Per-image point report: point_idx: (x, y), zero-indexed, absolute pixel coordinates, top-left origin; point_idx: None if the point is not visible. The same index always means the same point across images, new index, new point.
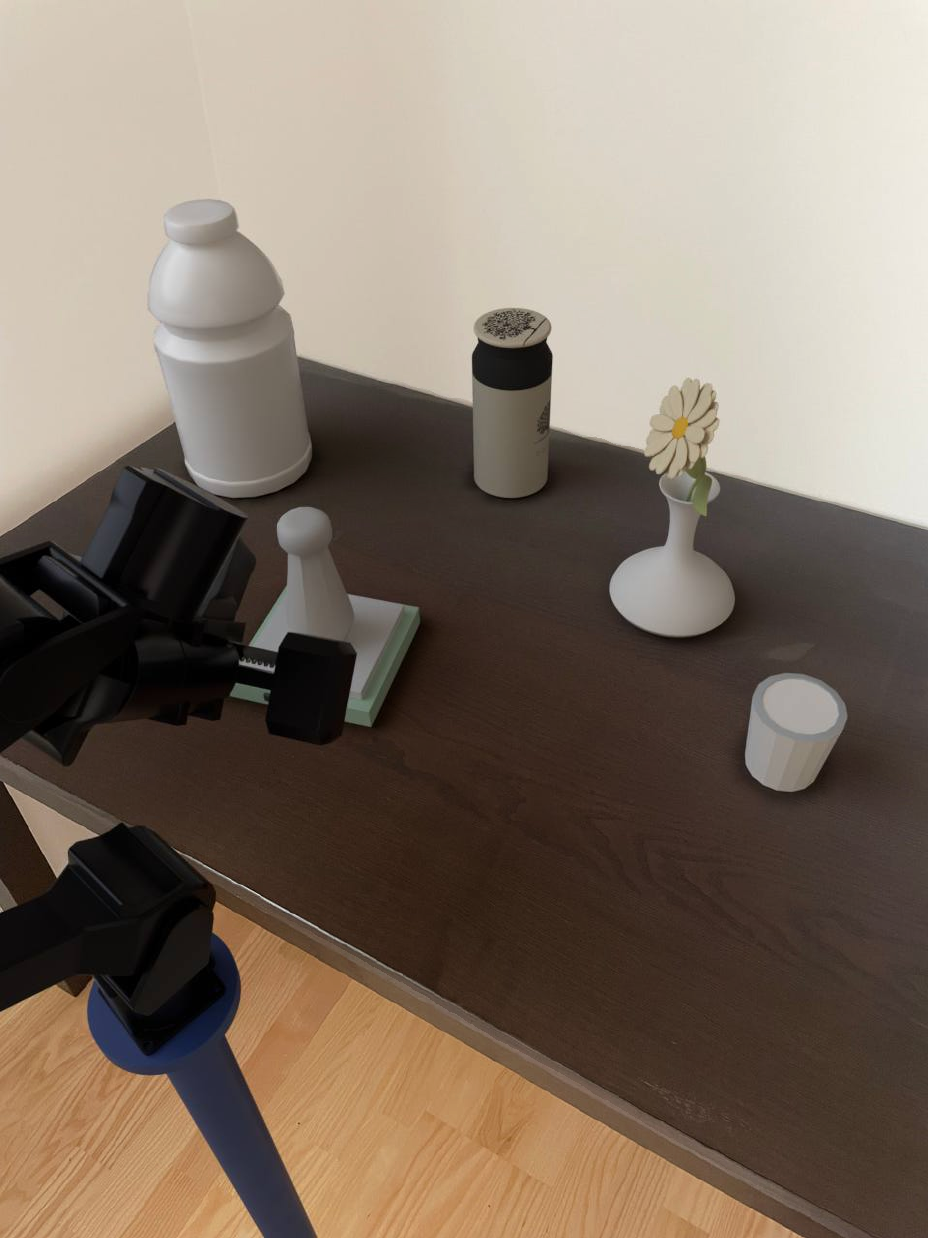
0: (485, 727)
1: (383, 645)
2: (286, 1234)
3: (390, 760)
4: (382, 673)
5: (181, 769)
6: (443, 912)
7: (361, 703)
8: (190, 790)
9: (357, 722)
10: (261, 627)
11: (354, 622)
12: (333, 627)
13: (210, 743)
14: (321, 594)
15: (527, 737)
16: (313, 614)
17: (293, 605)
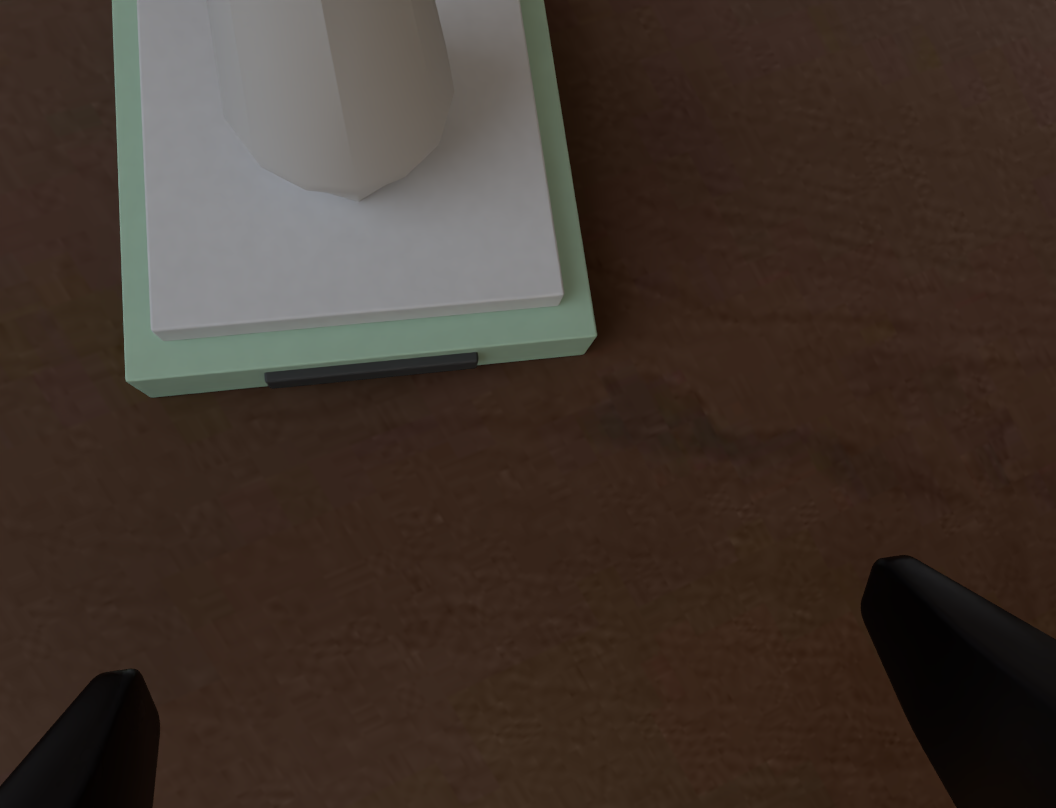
0: (834, 256)
1: (535, 114)
2: None
3: (680, 431)
4: (562, 199)
5: (151, 691)
6: None
7: (563, 316)
8: (220, 745)
9: (548, 356)
10: (122, 150)
11: None
12: (428, 122)
13: (185, 572)
14: (391, 18)
15: (931, 250)
16: (369, 104)
17: (278, 89)
